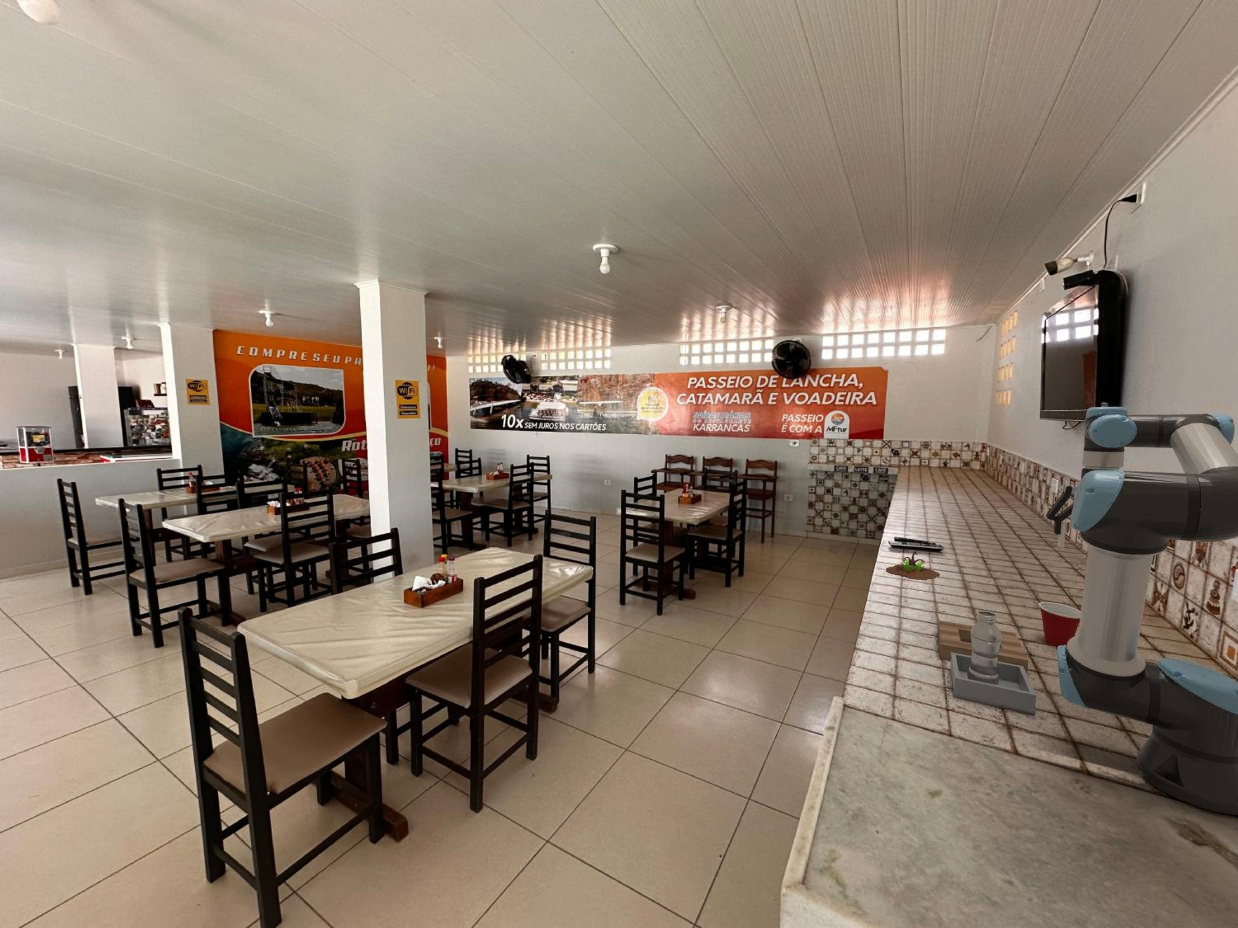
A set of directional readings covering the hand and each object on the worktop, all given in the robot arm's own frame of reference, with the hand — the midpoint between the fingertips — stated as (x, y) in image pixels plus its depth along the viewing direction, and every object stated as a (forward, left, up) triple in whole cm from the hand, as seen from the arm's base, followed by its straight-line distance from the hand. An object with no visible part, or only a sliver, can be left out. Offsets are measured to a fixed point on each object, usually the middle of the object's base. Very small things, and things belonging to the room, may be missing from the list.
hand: (1095, 550), depth 128 cm
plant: (+84, +39, -37) cm, 100 cm away
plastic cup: (+27, 0, -37) cm, 46 cm away
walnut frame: (+9, +22, -37) cm, 44 cm away
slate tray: (-15, +22, -37) cm, 45 cm away
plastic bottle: (-16, +24, -36) cm, 46 cm away
